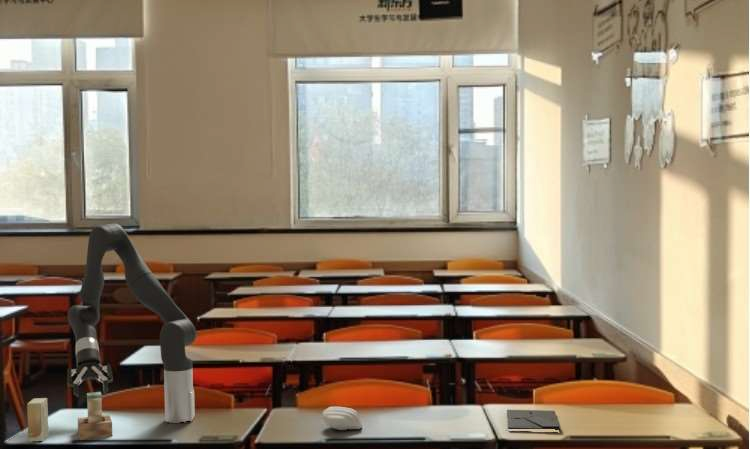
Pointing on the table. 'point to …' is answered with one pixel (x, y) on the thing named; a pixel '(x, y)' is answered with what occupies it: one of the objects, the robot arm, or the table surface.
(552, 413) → the picture frame
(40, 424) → the skincare box
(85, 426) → the socket block
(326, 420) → the shell shaped sculpture
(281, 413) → the table surface
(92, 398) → the peg
